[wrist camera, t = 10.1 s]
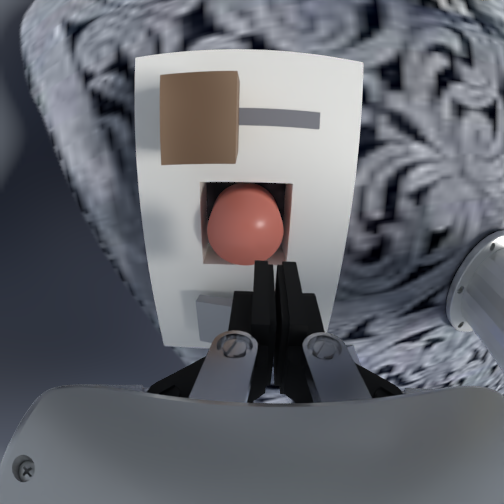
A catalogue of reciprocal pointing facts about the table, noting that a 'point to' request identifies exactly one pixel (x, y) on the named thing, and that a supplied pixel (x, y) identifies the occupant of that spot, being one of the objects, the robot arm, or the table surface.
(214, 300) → the grey rocker
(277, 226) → the red button
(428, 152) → the table surface
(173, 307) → the control panel
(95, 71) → the table surface
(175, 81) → the walnut slider
